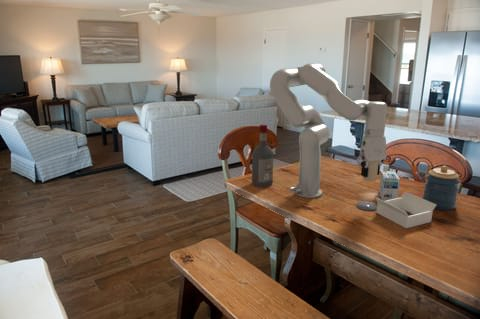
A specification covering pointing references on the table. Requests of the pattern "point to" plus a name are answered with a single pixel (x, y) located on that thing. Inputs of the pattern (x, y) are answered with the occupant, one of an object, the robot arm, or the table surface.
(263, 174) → the liquor
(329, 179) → the table surface
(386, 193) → the light bulb box
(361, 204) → the grey ellipsoid
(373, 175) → the candle
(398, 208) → the white open box
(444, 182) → the canister
